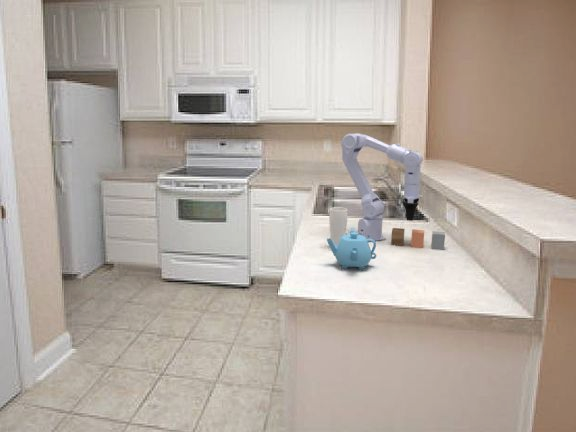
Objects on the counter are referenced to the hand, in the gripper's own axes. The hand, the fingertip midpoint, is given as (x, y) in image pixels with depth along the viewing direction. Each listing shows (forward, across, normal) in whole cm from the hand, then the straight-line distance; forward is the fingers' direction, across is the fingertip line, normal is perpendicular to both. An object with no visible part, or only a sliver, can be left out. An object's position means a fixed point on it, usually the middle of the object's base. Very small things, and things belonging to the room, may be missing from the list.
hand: (410, 218), depth 170 cm
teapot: (+10, -33, +17) cm, 39 cm away
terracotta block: (+10, -2, -3) cm, 11 cm away
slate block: (+11, -2, -11) cm, 15 cm away
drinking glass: (+10, -14, +26) cm, 31 cm away
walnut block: (+10, -2, +4) cm, 11 cm away
